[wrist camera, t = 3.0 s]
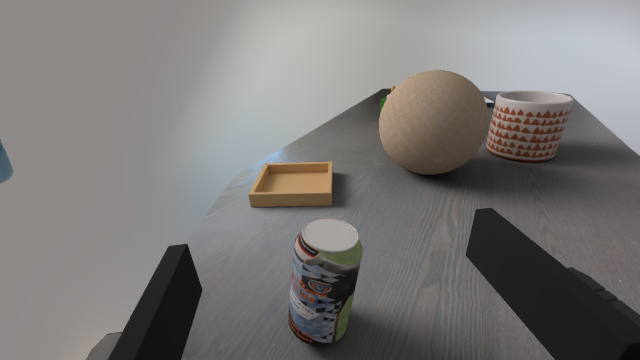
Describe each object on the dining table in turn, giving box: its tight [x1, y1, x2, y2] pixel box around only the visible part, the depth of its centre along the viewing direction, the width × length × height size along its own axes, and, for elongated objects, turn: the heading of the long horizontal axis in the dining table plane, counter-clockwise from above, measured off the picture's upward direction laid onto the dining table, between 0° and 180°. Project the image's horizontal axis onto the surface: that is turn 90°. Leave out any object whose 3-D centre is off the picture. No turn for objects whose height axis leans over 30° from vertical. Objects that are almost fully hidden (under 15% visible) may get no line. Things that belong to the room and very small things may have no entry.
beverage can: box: [289, 217, 362, 346], centre depth 27 cm, size 6×7×12 cm
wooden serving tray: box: [249, 162, 333, 207], centre depth 57 cm, size 15×14×3 cm
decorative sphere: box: [379, 70, 489, 175], centre depth 57 cm, size 20×20×20 cm
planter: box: [486, 91, 574, 162], centre depth 65 cm, size 14×14×13 cm
